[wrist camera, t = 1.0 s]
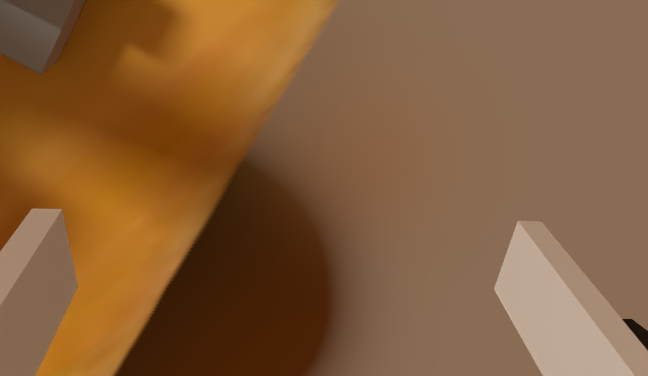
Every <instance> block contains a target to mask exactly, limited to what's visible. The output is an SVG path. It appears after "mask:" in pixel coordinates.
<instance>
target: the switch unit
mask: <svg viewBox="0 0 648 376" xmlns="http://www.w3.org/2000/svg"><path fill="white" fill-rule="evenodd" d="M85 2H86V0H0V53H1V54H3V55H5V56H7V57H9V58H11V59H12V60H14V61H16V62H18V63H20V64H22V65H24V66H25V67H27V68H29V69H31V70H33V71H35V72H37V73H39V74H40V75H41V74H42V73H43V72H45V71H46V70H47V69H48V68H50V67H51V66H52V65H53V64H54V63H56V62H57V61H58V59H59V57H60V55H61V53H62V50H63V48H64V46H65V44H66V42H67V40H68V38H69V36H70V33H71V31H72V29H73V27H74V25H75V23H76V21H77V19H78V16H79V14H80V12H81V10H82V8H83V6H84V4H85Z"/></svg>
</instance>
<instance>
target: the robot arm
mask: <svg viewBox="0 0 648 376" xmlns="http://www.w3.org/2000/svg"><path fill="white" fill-rule="evenodd" d="M77 287H78V285H77V280H76V275H75V270H74V265H73V260H72V255H71V250H70V245H69V240H68V235H67V230H66V225H65V220H64V216H63V211H62V209H35V208H32V209H31V210H30V212H29V213H28V215H27V216H26V217H25V219H24V220H23V221H22V223H21V224H20V225H19V227H18V228H17V229H16V231H15V232H14V234H13V235H12V236H11V238H10V239H9V240H8V242H7V243H6V244H5V246H4V247H3V248H2V250H1V251H0V376H35V375H36V373H37V371H38V369H39V367H40V365H41V363H42V361H43V359H44V356H45V354H46V352H47V350H48V348H49V346H50V344H51V342H52V340H53V338H54V336H55V333H56V331H57V329H58V327H59V325H60V323H61V321H62V319H63V317H64V315H65V312H66V310H67V308H68V306H69V304H70V302H71V300H72V298H73V296H74V294H75V291H76V289H77ZM494 290H495V292H496V294H497V296H498V297H499V299H500V301H501V303H502V304H503V306H504V308H505V310H506V312H507V313H508V315H509V317H510V319H511V320H512V322H513V324H514V326H515V327H516V329H517V331H518V333H519V335H520V336H521V338H522V340H523V342H524V343H525V345H526V347H527V348H528V350H529V352H530V354H531V356H532V358H533V359H534V361H535V363H536V365H537V366H538V368H539V370H540V371H541V373H542V375H543V376H648V331H647V330H646V329H644V328H643V327H642V326H640V325H639V324H637V323H636V322H635V321H634V320H632V319H621V318H620V316H619V315H618V314H617V313H616V312H615V310H614V309H613V308H612V307H611V305H610V304H609V303H608V302H607V301H606V299H605V298H604V297H603V296H602V294H601V293H600V292H599V291H598V290H597V288H596V287H595V286H594V285H593V284H592V282H591V281H590V280H589V279H588V278H587V276H586V275H585V274H584V273H583V271H582V270H581V269H580V268H579V267H578V266H577V264H576V263H575V262H574V260H572V258H571V257H570V256H569V254H568V253H567V252H566V251H565V250H564V248H563V247H562V246H561V245H560V243H559V242H558V241H557V240H556V239H555V238H554V236H553V235H552V234H551V233H550V231H549V230H548V229H547V228H546V226H545V225H544V224H543V223H542V222H541V221H518V222H517V225H516V227H515V230H514V233H513V236H512V239H511V242H510V244H509V247H508V250H507V253H506V256H505V259H504V261H503V264H502V267H501V270H500V273H499V276H498V279H497V281H496V284H495V287H494Z"/></svg>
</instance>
